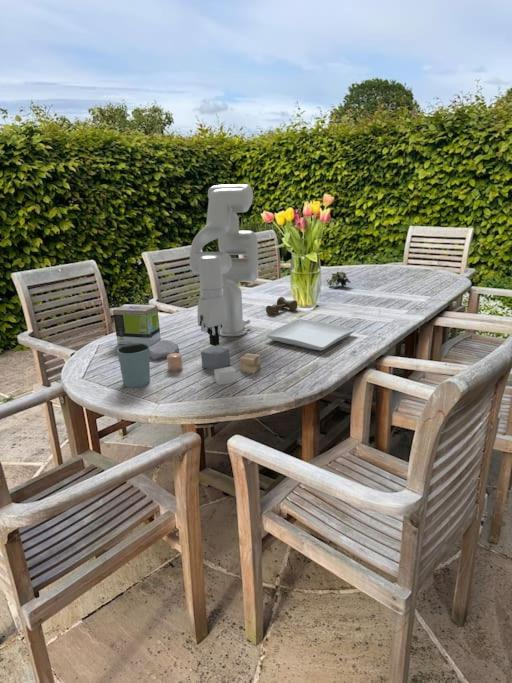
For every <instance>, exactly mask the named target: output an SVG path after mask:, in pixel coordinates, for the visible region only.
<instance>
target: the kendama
mask: <svg viewBox="0 0 512 683" xmlns="http://www.w3.org/2000/svg"><path fill="white" fill-rule="evenodd" d="M283 308H287V309H289V311H291V312H295V311H296V310H297V309H298V301H297V300H295V299H294V300H290V301H289V300H286V299H285V297H284V296H280V297H278V298H277V300H276V303H275V304H272V305H267V306H266V307H265V312H266V314H267V315H268V316H274V314H278V313H279V311H281V310H282V309H283Z"/></svg>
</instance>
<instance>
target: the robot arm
mask: <svg viewBox="0 0 512 683" xmlns="http://www.w3.org/2000/svg"><path fill="white" fill-rule="evenodd" d="M207 197H208V198H207V199H208V204H207V214H206V222H205V223H206V225H205V226H204V227H203V228H201V229H200V230H199V231H198V232H197V233H196V235H195V236H194V238H193V240H192V242H191V246H190V251H189V252H190V254H189V267H190V270H191V271H192V273H193V274H197V275H199V276H198V277H199V289H200V297H199V298H198V302H197V325H198V326H199V327H200V331H201V332H202V333H206V334H208V336H209V344H210V345H211V346H219V345H220V336H222V337H229V338H230V337H231V338H232V337H233V338H234V337H240V336H243V335H245V334H246V333H247V332H248V330H247V328H246V327H245V326H246V325H249V324H251V320H250V319H245V320H244V319H243V318H244V317H243V315H244V314H243V293H242V289H241V288H240V286H239V285H238V282H239V283H243V282H245V283H246V282H248V283H249V282H255V281H257V279H258V277H259V243H258V236H257V234H256V233H255V231H253V230H240V220H239V215H238V213H247V212H248V210H249V209H250V207H251V206H252V204H253V201H254V200H253V199H254V192H253V189H252V186H251V185H249V184H246V183H243V184H218V185H217V184H216V185H212V186H211V187H209V188H208V191H207ZM214 240H218V241H217V243H218V244H217V245H218V251H202V249H203V248H204V247H205V246H206V245H207V244H209V243H210V242H212V241H214ZM235 255H236V256H237V255H238V256H240V255H241V256H242V255H243V256H246V257H241V258H240V257H231V256H235Z"/></svg>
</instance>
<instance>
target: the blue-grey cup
mask: <svg viewBox="0 0 512 683" xmlns="http://www.w3.org/2000/svg"><path fill="white" fill-rule="evenodd" d="M116 354H117V358H118V362H119V365H120V366H119V367H120V373H121V377H122V383H123V385H124V387H126V388H132V389H134V388H141V387H145V386H147V385H149V383H150V381H151V376H150V375H151V372H150V364H151V363H150V359H151V358H150V357H149V354H150V347H149V345H147V344H143V343H132V344H122V345H120V346H119V347H118V348H116Z"/></svg>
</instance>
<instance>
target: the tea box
mask: <svg viewBox="0 0 512 683" xmlns="http://www.w3.org/2000/svg"><path fill="white" fill-rule="evenodd" d="M112 313H113V322H114V328H115V335H116V342H117V345H126V344H132V343H143V344H147V345H149V346H152V345H154V344H155V343H156V342H158V341H160V340H161V329H160V321H159V310H158V305H157V304H134V303H133V304H131V303H129V304H127V303H124V304H122V305H120V306H118V307H116V308H114V309H113V310H112Z"/></svg>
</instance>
